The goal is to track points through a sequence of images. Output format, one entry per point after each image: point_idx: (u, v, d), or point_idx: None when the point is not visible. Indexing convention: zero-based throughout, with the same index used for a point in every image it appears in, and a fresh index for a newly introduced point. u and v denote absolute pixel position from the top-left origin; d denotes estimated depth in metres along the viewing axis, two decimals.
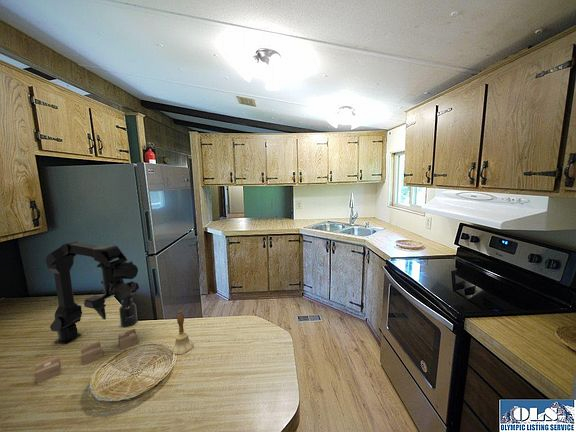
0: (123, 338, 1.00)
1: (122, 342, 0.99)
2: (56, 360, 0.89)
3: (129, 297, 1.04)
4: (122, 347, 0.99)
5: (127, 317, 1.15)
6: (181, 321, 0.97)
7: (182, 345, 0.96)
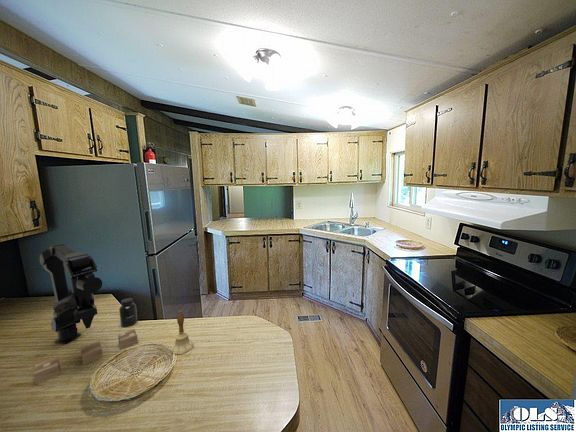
0: (123, 338, 1.00)
1: (122, 342, 0.99)
2: (55, 360, 0.88)
3: (81, 318, 0.90)
4: (122, 347, 0.99)
5: (127, 317, 1.15)
6: (181, 321, 0.97)
7: (182, 345, 0.96)
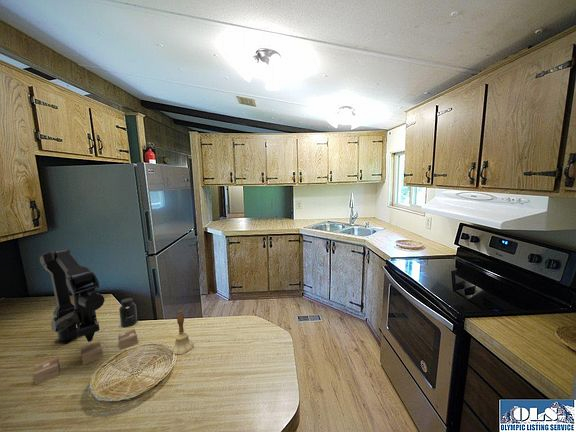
0: (123, 338, 1.00)
1: (122, 342, 0.99)
2: (55, 361, 0.88)
3: None
4: (122, 347, 0.99)
5: (127, 317, 1.15)
6: (181, 321, 0.97)
7: (182, 345, 0.96)
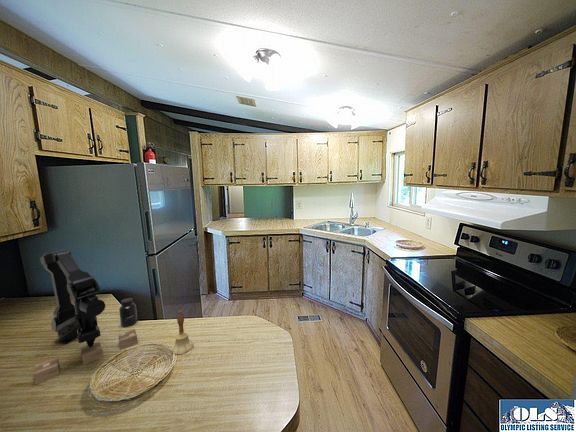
0: (123, 338, 1.00)
1: (122, 342, 0.99)
2: (55, 361, 0.88)
3: None
4: (122, 347, 0.99)
5: (127, 317, 1.15)
6: (181, 321, 0.97)
7: (182, 345, 0.96)
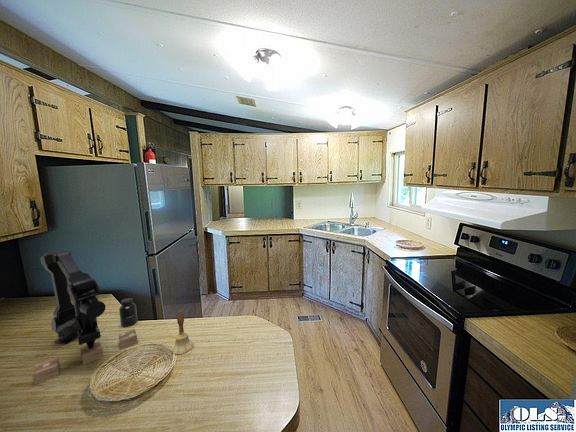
0: (123, 338, 1.00)
1: (121, 342, 0.99)
2: (55, 361, 0.88)
3: None
4: (121, 347, 0.99)
5: (127, 317, 1.15)
6: (181, 321, 0.97)
7: (182, 345, 0.96)
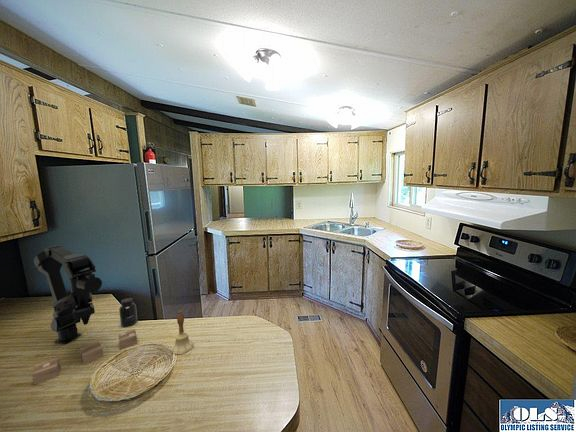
0: (122, 338, 1.00)
1: (121, 342, 0.99)
2: (55, 361, 0.88)
3: None
4: (121, 347, 0.99)
5: (127, 317, 1.15)
6: (181, 321, 0.97)
7: (182, 345, 0.96)
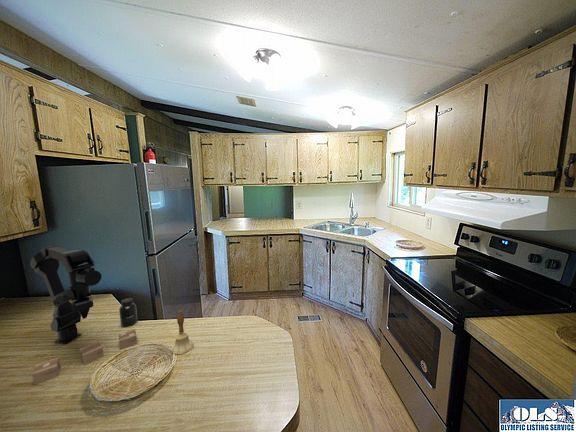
0: (122, 338, 1.00)
1: (121, 342, 0.99)
2: (55, 361, 0.88)
3: None
4: (121, 347, 0.99)
5: (127, 317, 1.15)
6: (181, 321, 0.97)
7: (182, 345, 0.96)
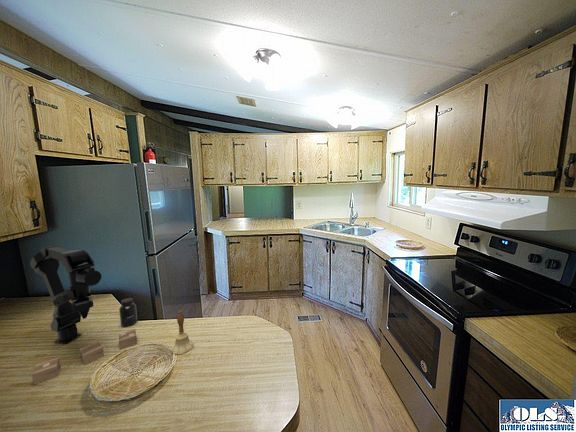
0: (122, 338, 1.00)
1: (121, 342, 0.99)
2: (55, 361, 0.88)
3: None
4: (121, 347, 0.99)
5: (127, 317, 1.15)
6: (181, 321, 0.97)
7: (182, 345, 0.96)
